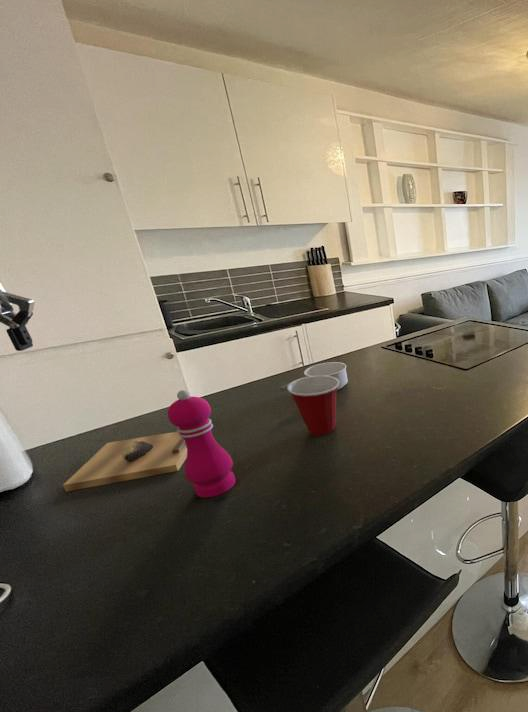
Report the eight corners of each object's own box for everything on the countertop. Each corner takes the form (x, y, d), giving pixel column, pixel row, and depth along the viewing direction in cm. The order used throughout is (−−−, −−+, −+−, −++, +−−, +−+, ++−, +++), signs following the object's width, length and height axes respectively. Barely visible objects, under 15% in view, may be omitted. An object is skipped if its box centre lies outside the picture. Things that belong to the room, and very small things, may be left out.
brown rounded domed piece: (126, 463, 82) (125, 449, 81) (111, 458, 84) (110, 444, 83) (162, 453, 88) (161, 440, 87) (147, 449, 89) (146, 436, 89)
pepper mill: (242, 472, 81) (212, 379, 73) (234, 493, 75) (201, 394, 67) (199, 481, 79) (163, 386, 71) (188, 504, 72) (147, 403, 65)
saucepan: (272, 402, 111) (266, 383, 108) (331, 376, 127) (327, 359, 125) (300, 410, 105) (295, 391, 103) (358, 382, 122) (355, 365, 120)
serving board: (65, 491, 77) (60, 481, 76) (109, 448, 91) (105, 439, 90) (178, 471, 82) (174, 461, 81) (203, 433, 96) (200, 424, 95)
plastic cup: (339, 440, 91) (329, 391, 87) (290, 443, 91) (278, 394, 86) (353, 417, 101) (345, 372, 97) (309, 419, 101) (298, 374, 96)
